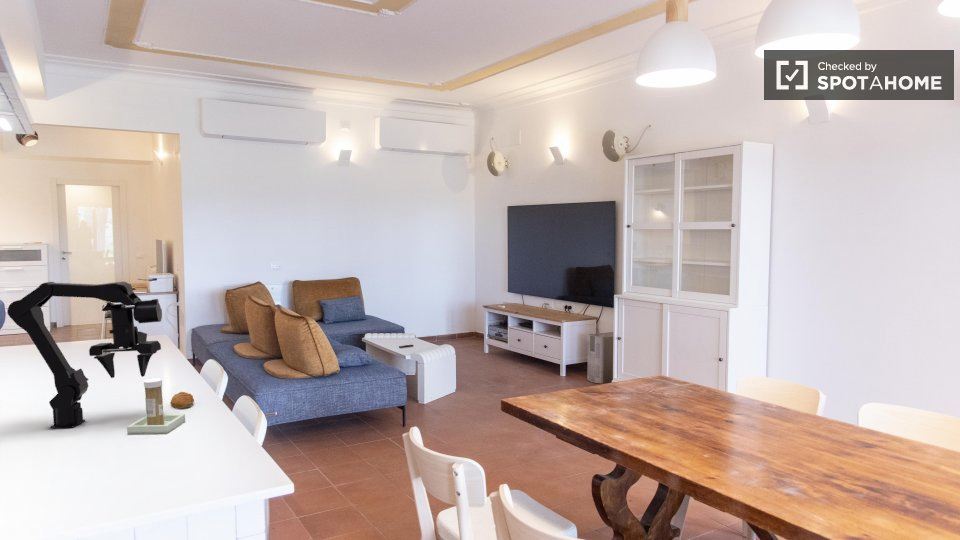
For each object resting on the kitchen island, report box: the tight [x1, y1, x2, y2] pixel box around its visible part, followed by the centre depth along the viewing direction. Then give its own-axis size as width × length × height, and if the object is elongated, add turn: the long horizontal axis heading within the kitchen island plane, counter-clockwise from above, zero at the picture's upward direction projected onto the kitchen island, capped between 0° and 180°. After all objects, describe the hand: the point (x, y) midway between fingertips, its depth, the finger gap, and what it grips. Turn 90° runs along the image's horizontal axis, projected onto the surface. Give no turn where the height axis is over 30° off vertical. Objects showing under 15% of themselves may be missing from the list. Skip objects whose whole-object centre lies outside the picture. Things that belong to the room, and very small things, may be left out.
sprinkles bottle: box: [143, 377, 164, 425], centre depth 184 cm, size 5×5×13 cm
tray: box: [126, 413, 186, 435], centre depth 185 cm, size 11×11×2 cm
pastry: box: [169, 391, 195, 410], centre depth 207 cm, size 9×7×4 cm
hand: (128, 376), depth 191 cm, fingers open, 9 cm apart
